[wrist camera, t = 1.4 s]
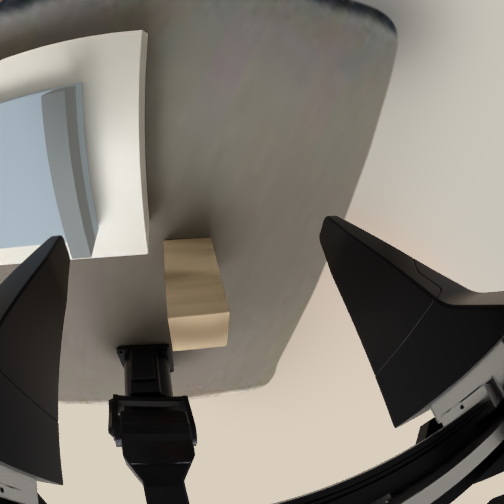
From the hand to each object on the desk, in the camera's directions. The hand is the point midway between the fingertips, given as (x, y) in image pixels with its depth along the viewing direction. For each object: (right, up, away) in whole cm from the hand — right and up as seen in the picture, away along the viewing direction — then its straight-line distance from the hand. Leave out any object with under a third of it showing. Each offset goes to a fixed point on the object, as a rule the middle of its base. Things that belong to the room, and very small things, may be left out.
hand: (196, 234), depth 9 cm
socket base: (-16, +6, +5) cm, 18 cm away
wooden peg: (-4, -1, +16) cm, 16 cm away
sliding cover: (-11, +4, +3) cm, 12 cm away
